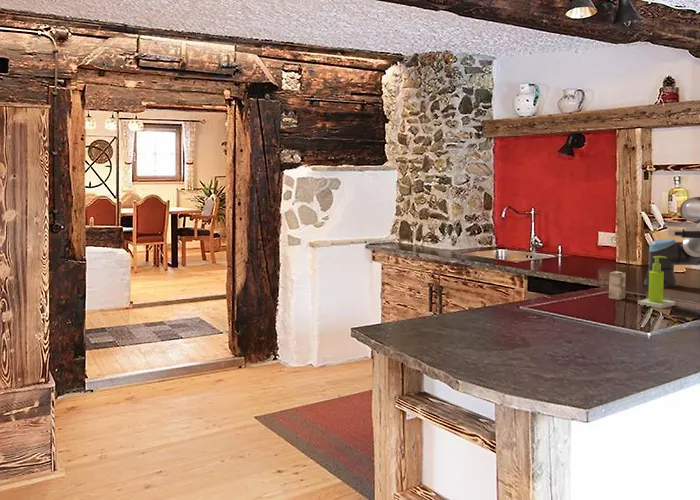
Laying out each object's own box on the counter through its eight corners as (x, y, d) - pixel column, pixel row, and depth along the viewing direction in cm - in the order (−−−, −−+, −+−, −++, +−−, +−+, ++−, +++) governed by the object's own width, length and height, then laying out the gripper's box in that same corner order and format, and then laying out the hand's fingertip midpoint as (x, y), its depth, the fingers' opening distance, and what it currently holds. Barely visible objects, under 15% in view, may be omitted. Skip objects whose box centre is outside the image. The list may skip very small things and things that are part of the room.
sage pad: (651, 301, 301) (651, 297, 301) (675, 305, 292) (675, 301, 292) (637, 304, 295) (637, 300, 294) (661, 308, 286) (661, 304, 285)
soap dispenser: (667, 302, 290) (668, 257, 287) (650, 302, 291) (651, 257, 289) (663, 299, 295) (664, 255, 293) (646, 299, 297) (648, 255, 294)
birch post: (615, 296, 313) (615, 270, 311) (625, 298, 308) (626, 272, 307) (608, 297, 310) (609, 271, 308) (618, 299, 305) (619, 273, 304)
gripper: (712, 247, 261) (660, 242, 279) (743, 241, 275) (692, 237, 293) (713, 228, 260) (661, 224, 278) (744, 223, 274) (693, 220, 292)
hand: (677, 231), depth 285 cm, fingers open, 13 cm apart
